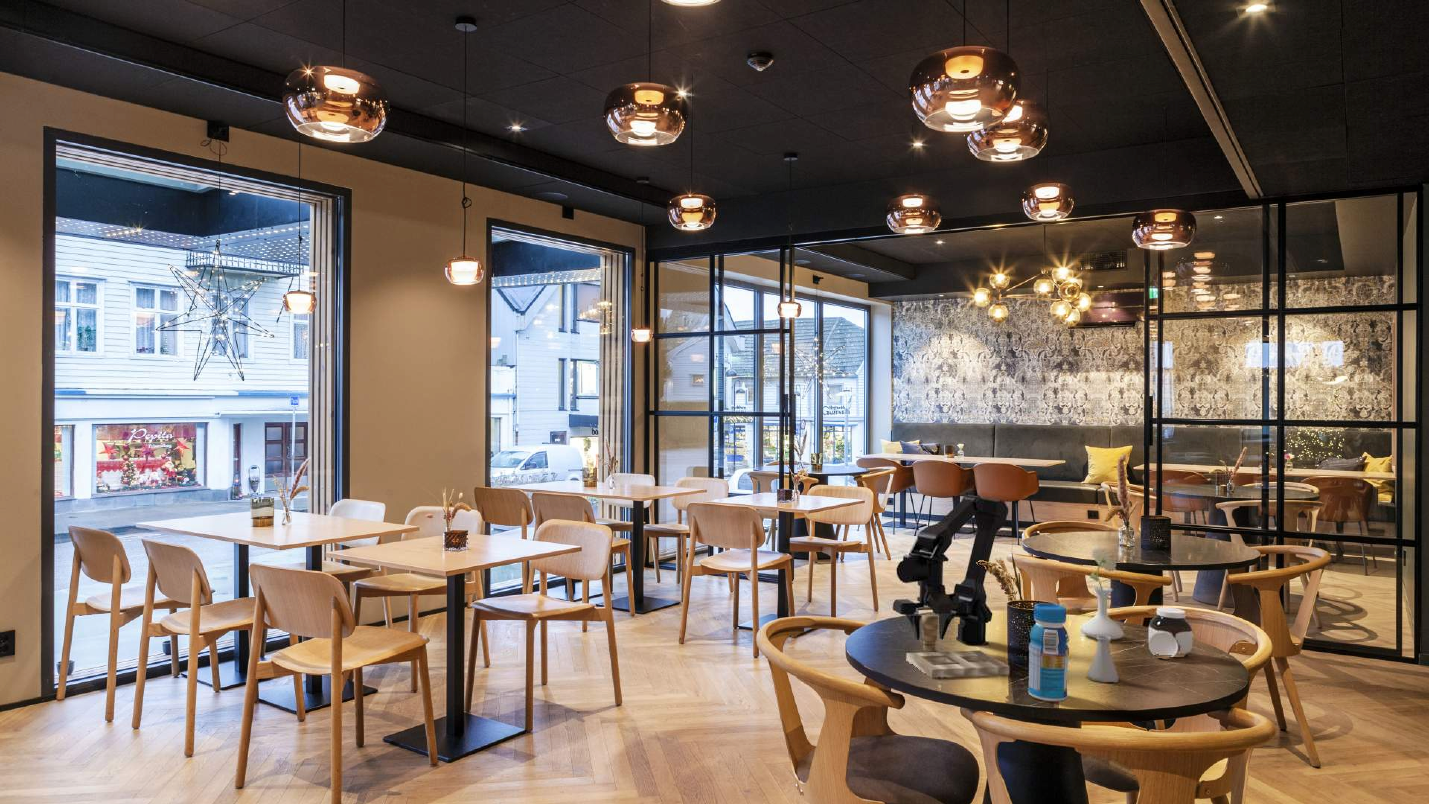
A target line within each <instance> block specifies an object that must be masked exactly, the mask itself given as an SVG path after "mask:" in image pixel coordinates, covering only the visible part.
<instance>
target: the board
mask: <svg viewBox="0 0 1429 804" xmlns="http://www.w3.org/2000/svg"><path fill="white" fill-rule="evenodd" d="M907 661H908V662H909V663H908V662H907ZM906 662H907V663H908V664H910V665H911V664H913V665H914V666H915V667H914V666H913V665H912V666H913V667H914V668H916V667H917V668H918V671H920V670H921V671H920V672H922V673H924V674H925V673H926V674H927V675H926V674H925V675H926V676H928V677H929V676H930V677H929V678H931V679H939V678H938V677H941V678H942V679H943V677H947V678H965V677H988V676H989V677H990V676H1009V675H1010V665H1007V664H1006V663H1004V662H1001V661H1000V660H998V659H996V658H994V657H993V656H991V655H989V654H987V653H985V652H983V651H981V650H958V651H954V650H952V651H935V652H906ZM917 668H916V669H917ZM941 678H940V679H941Z"/></svg>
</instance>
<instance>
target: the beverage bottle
mask: <svg viewBox="0 0 1429 804" xmlns="http://www.w3.org/2000/svg"><path fill="white" fill-rule="evenodd" d="M1033 619H1034V621H1035V623H1034V625H1033V626H1032V628H1031V630H1030V632H1029V638H1030V642H1029V644H1028V651H1029V653H1028V657H1029V658H1028V659H1029V660H1028V687H1027V688H1028V689H1027V692H1028V694H1029V695H1030V696H1031V697H1032V698H1035V699H1037V700H1041V701H1045V702H1062V700H1063V701H1066V699H1067V698H1068V676H1069V675H1068V673H1069V656H1070V648H1069V646H1068V643H1069V641H1070V637H1069V634H1068V631H1067V629H1066V627H1065V626H1064V625H1065V624H1066V621H1067V608H1066V607H1065V606H1064V605H1060V604H1056V603H1046V602H1045V603H1043V602H1042V603H1037V604H1034V606H1033Z"/></svg>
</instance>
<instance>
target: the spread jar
mask: <svg viewBox="0 0 1429 804" xmlns="http://www.w3.org/2000/svg"><path fill="white" fill-rule="evenodd" d="M1193 633H1194V632H1193V628H1192V626H1191V624H1190V622H1189V621H1188V620H1187V619H1186V611H1185V610H1183V609H1181V608H1180V609H1179V608H1174V607H1164V606H1163V607H1161V606H1160V607H1157V608H1156V615H1155V616H1154V617H1153V618H1152V619H1150V622H1149V625H1148V637H1147V638H1148V648H1149V651H1150V653H1151V654H1152V655H1153V656H1154V655H1155V654H1159V655H1172V656H1171V657H1174V656H1175V655H1176V654H1177V653H1179V654H1180V653H1189V652H1190V653H1191V651H1192V648H1193V638H1194V637H1193ZM1190 653H1189V654H1190Z"/></svg>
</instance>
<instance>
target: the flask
mask: <svg viewBox="0 0 1429 804" xmlns="http://www.w3.org/2000/svg"><path fill="white" fill-rule="evenodd" d="M1096 640H1097V648H1096V652H1095V655H1094V656H1093V657H1094V658H1093V660H1092V662H1091V664H1090V667H1089V669H1088V672H1087V673H1086V677H1087V678H1088V679H1090V680H1091V681H1094V682H1095V681H1096V682H1099V683H1105V682H1106V683H1107V682H1114V683H1118V682H1119V680H1120V677H1119V675H1118V673H1117V670H1116V667H1115V663H1114V660H1113V658H1112V654H1111V647H1110V645H1111V644H1110V643H1111V640H1112V639H1111V638H1110V637H1108V636H1097V638H1096ZM1118 679H1119V680H1118ZM1106 683H1105V684H1106ZM1107 684H1108V683H1107Z"/></svg>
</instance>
